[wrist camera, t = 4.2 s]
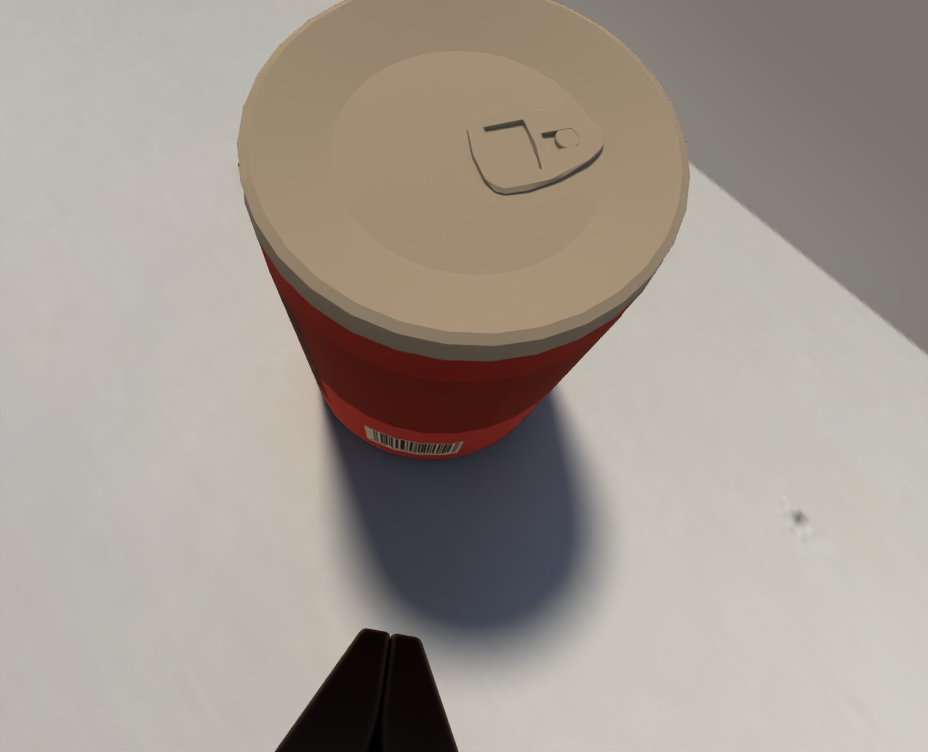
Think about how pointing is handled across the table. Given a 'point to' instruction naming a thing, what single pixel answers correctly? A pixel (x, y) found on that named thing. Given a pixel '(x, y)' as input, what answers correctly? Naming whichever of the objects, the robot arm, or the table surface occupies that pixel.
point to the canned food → (456, 206)
